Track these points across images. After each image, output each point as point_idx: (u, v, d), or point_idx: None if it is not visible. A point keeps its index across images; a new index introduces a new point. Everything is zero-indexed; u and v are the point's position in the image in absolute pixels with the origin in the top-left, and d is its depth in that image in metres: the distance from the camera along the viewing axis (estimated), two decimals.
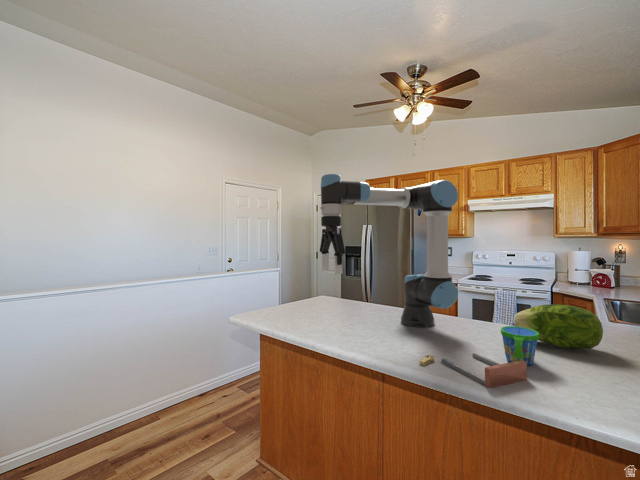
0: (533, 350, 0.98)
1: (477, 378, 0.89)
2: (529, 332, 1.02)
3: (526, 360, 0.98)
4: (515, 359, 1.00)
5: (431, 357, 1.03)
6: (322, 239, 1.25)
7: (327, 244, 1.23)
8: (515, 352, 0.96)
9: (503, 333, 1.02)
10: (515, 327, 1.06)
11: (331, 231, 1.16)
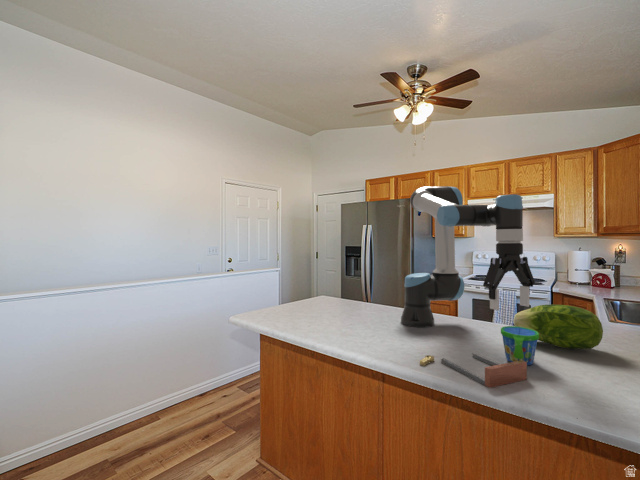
0: (533, 350, 0.98)
1: (477, 378, 0.89)
2: (529, 332, 1.02)
3: (526, 360, 0.98)
4: (515, 359, 1.00)
5: (431, 357, 1.03)
6: None
7: (519, 275, 1.04)
8: (515, 352, 0.96)
9: (503, 333, 1.02)
10: (515, 327, 1.06)
11: None
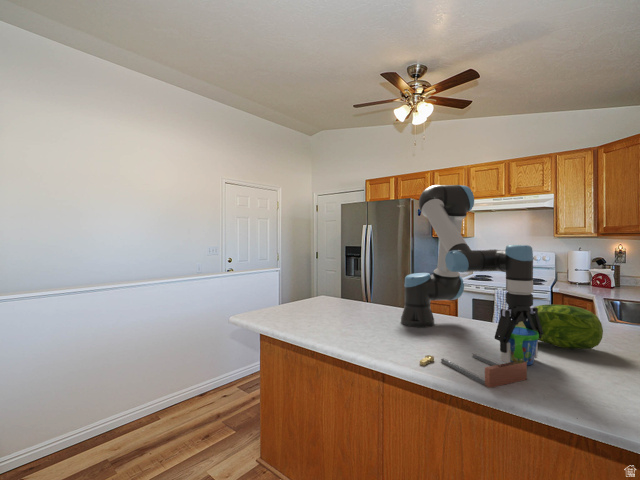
0: (533, 350, 0.98)
1: (477, 378, 0.89)
2: (529, 332, 1.02)
3: (526, 360, 0.98)
4: (515, 359, 1.00)
5: (431, 357, 1.03)
6: None
7: (528, 326, 1.03)
8: (515, 352, 0.96)
9: None
10: (515, 327, 1.06)
11: None
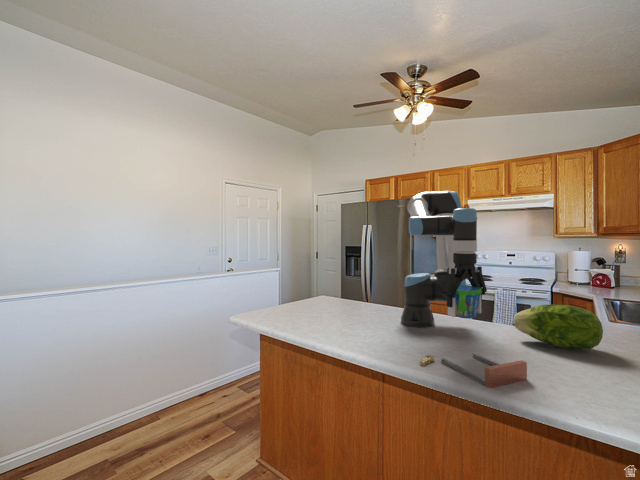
0: (476, 304, 1.07)
1: (477, 378, 0.89)
2: (473, 289, 1.10)
3: (470, 313, 1.07)
4: (460, 313, 1.08)
5: (431, 357, 1.03)
6: None
7: (473, 283, 1.12)
8: (459, 305, 1.04)
9: None
10: (462, 285, 1.15)
11: None
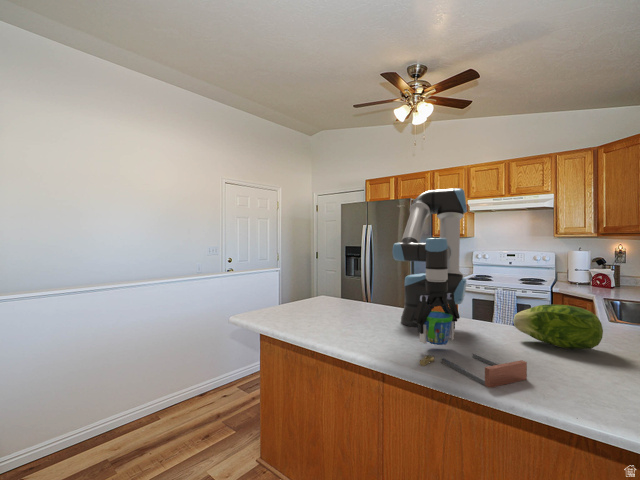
0: (446, 331, 1.10)
1: (477, 378, 0.89)
2: (445, 316, 1.14)
3: (440, 340, 1.10)
4: (431, 339, 1.11)
5: (431, 357, 1.03)
6: (448, 303, 1.17)
7: (445, 310, 1.15)
8: (428, 333, 1.08)
9: None
10: (436, 312, 1.18)
11: None
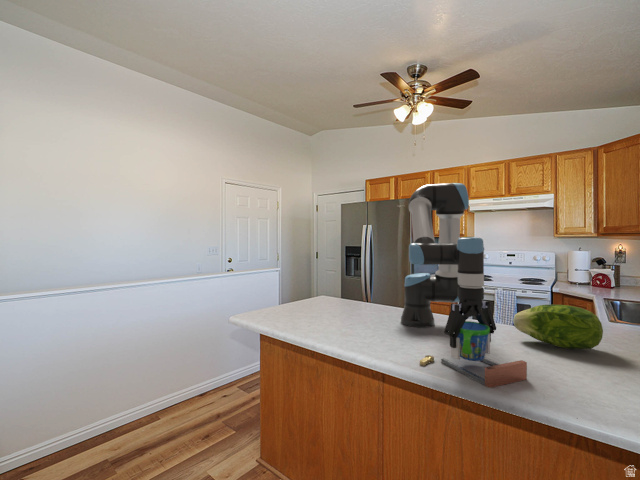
0: (483, 345, 0.95)
1: (477, 378, 0.89)
2: (480, 327, 0.99)
3: (476, 356, 0.95)
4: (465, 355, 0.97)
5: (431, 357, 1.03)
6: (482, 312, 1.03)
7: (480, 320, 1.00)
8: (463, 347, 0.93)
9: None
10: (468, 322, 1.03)
11: None
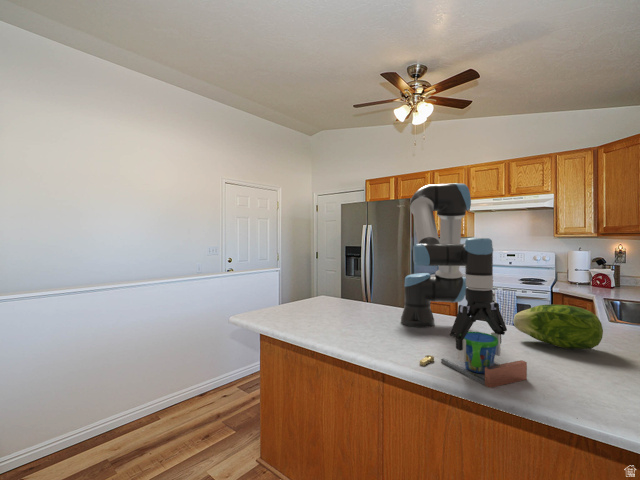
0: (492, 357, 0.93)
1: (477, 378, 0.89)
2: (488, 338, 0.96)
3: None
4: (474, 367, 0.94)
5: (431, 357, 1.03)
6: (491, 314, 1.00)
7: (490, 322, 0.98)
8: (473, 360, 0.90)
9: None
10: (475, 333, 1.01)
11: None
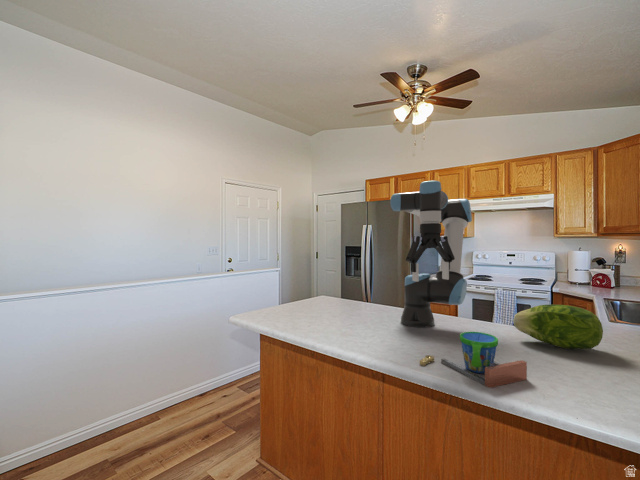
0: (492, 357, 0.93)
1: (477, 378, 0.89)
2: (488, 338, 0.96)
3: None
4: (474, 367, 0.94)
5: (431, 357, 1.03)
6: None
7: (440, 252, 1.18)
8: (473, 360, 0.90)
9: (461, 340, 0.96)
10: (475, 333, 1.01)
11: None
